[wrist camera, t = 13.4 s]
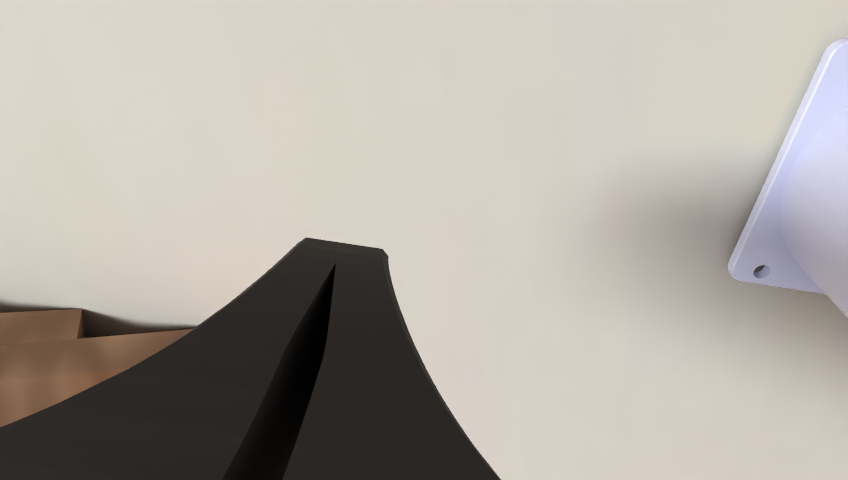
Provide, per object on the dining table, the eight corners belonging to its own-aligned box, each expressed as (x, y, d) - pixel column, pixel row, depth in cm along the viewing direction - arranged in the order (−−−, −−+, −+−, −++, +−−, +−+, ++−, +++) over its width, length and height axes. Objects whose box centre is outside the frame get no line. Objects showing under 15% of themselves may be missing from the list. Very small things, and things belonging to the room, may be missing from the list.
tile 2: (223, 358, 22) (-31, 384, 20) (224, 457, 25) (-2, 492, 22) (220, 326, 24) (-18, 346, 21) (221, 423, 26) (8, 452, 24)
